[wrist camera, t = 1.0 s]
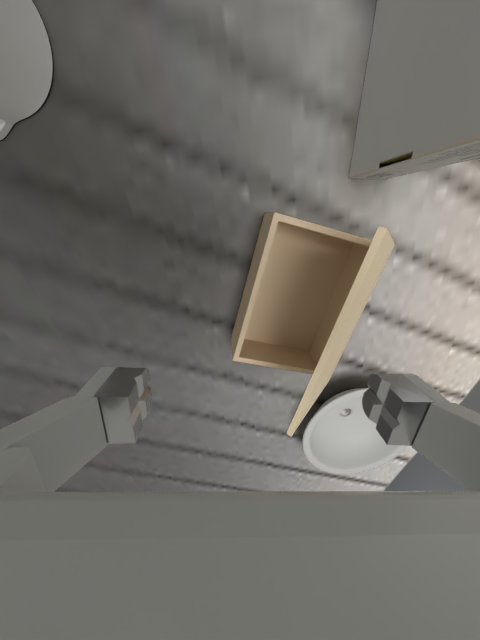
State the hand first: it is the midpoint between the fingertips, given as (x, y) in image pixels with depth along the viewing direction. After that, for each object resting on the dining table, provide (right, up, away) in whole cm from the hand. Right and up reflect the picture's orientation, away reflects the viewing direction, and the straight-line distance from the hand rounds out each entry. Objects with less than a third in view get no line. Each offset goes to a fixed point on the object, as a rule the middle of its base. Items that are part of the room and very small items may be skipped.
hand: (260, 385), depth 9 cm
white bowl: (+23, -18, +45) cm, 54 cm away
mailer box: (+8, +7, +33) cm, 34 cm away
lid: (+12, +1, +20) cm, 23 cm away
